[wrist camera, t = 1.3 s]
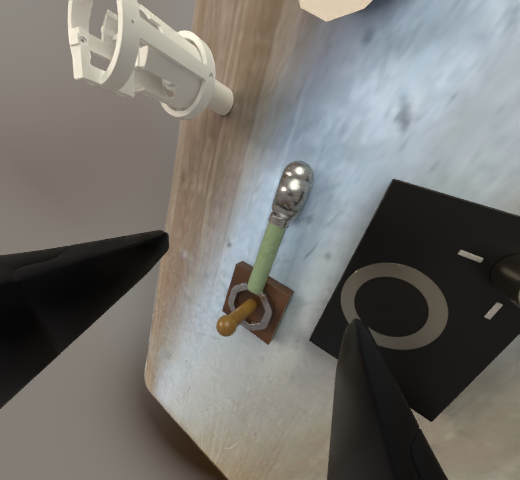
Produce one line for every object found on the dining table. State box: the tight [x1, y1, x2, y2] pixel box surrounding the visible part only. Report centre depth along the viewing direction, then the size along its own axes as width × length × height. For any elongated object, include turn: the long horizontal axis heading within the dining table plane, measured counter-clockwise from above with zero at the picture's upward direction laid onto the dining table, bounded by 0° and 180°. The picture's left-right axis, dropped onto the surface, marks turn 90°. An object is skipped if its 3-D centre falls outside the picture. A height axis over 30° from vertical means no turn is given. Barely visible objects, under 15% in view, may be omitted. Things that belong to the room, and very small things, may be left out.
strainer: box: [68, 0, 234, 120], centre depth 20 cm, size 7×7×15 cm
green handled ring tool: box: [228, 161, 314, 331], centre depth 25 cm, size 21×6×4 cm, turn 160°
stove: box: [309, 179, 520, 422], centre depth 19 cm, size 18×14×3 cm
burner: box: [341, 263, 448, 350], centre depth 19 cm, size 8×8×1 cm
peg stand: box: [216, 261, 294, 345], centre depth 26 cm, size 8×8×8 cm
